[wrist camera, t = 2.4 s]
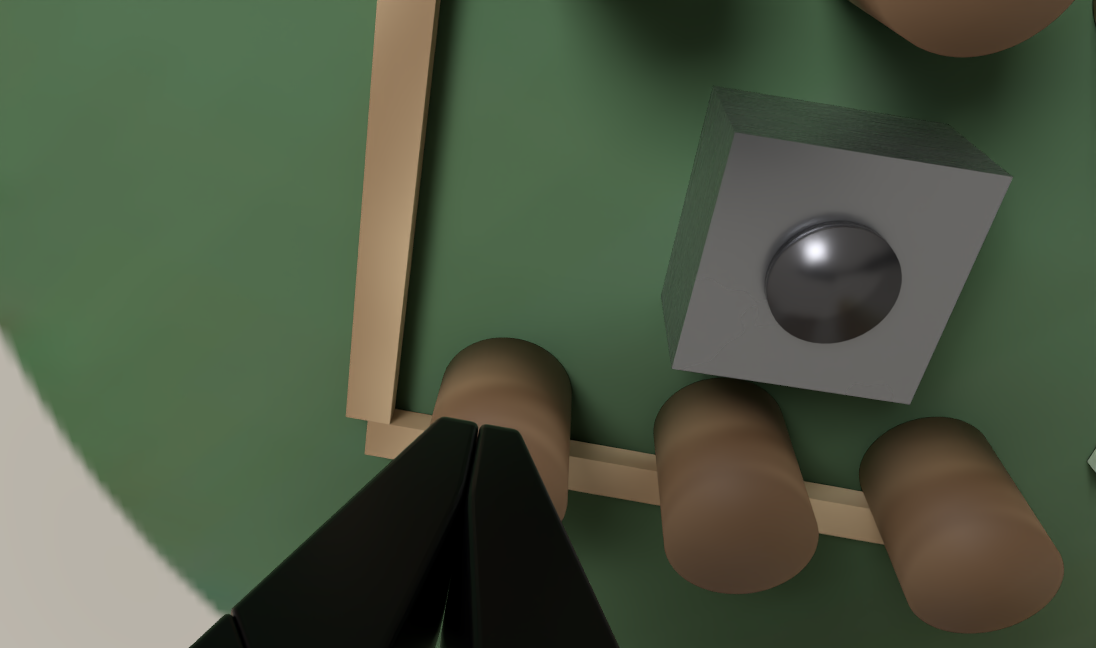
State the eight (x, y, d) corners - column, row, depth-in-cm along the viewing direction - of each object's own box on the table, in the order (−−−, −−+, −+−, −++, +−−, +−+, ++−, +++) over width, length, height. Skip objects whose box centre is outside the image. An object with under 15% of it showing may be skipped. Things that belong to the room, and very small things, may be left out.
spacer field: (1378, -131, 13) (1606, -119, 10) (969, 542, 21) (1031, 663, 18) (411, -345, 13) (353, -401, 10) (349, 434, 20) (307, 540, 17)
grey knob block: (944, 121, 16) (1021, 183, 13) (864, 323, 18) (915, 413, 15) (711, 83, 16) (737, 138, 13) (660, 291, 18) (673, 377, 15)
